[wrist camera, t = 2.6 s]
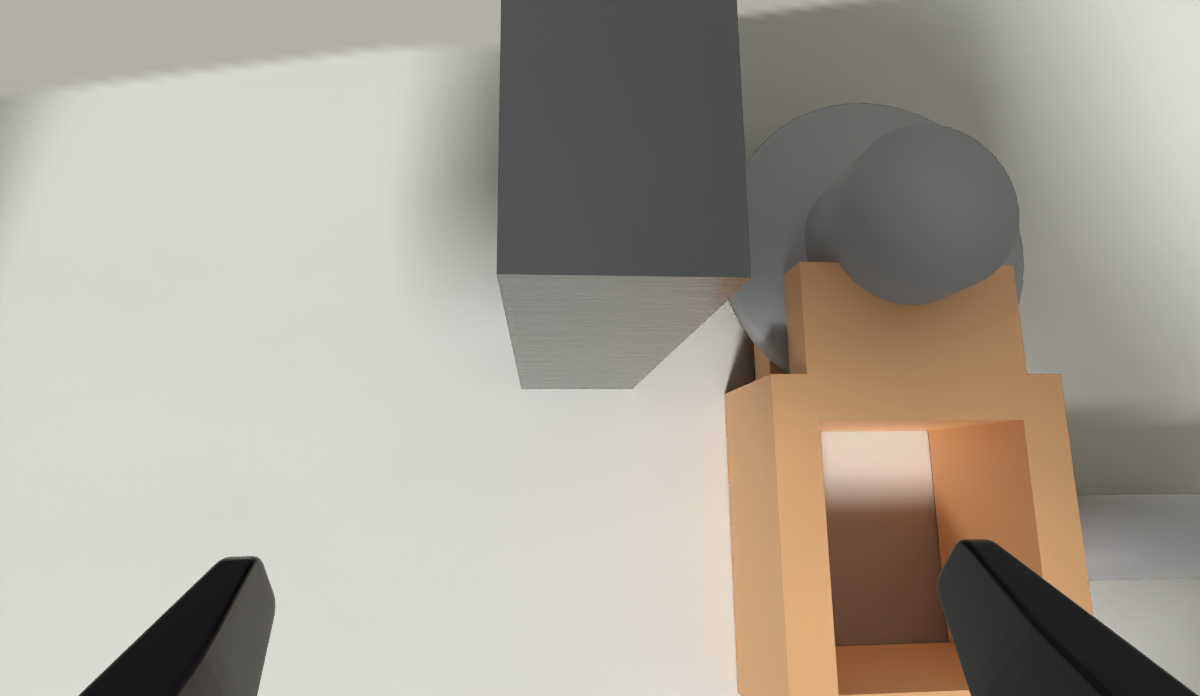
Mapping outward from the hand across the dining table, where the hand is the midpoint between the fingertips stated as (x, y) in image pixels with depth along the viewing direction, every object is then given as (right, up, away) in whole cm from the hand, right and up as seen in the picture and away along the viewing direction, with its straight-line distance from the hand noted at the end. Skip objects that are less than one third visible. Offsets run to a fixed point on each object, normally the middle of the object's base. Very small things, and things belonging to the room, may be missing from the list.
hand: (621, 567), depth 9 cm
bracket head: (+11, +1, +14) cm, 18 cm away
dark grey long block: (-1, +4, +13) cm, 14 cm away
